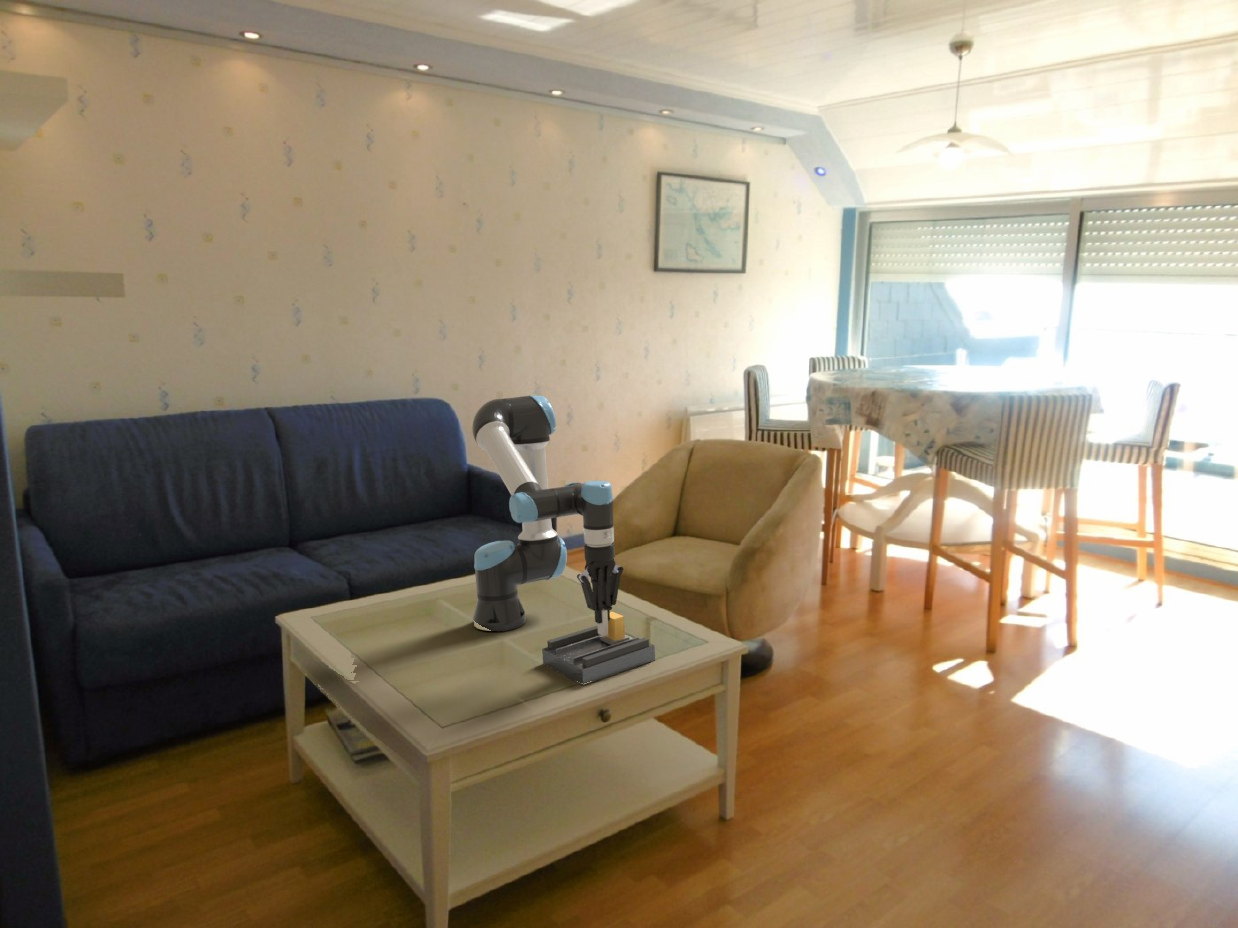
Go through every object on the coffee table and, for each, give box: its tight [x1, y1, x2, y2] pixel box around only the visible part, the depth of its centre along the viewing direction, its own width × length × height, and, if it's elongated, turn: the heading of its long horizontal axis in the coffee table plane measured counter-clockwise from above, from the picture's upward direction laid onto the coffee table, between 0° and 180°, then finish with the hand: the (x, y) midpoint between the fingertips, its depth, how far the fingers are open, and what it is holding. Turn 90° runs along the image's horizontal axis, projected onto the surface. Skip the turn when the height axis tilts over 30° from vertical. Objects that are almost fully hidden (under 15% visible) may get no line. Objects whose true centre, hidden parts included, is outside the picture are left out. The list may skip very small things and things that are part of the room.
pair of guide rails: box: [546, 624, 650, 667], centre depth 221 cm, size 17×19×2 cm
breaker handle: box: [600, 611, 629, 645], centre depth 224 cm, size 6×5×7 cm
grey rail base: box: [541, 632, 656, 684], centre depth 221 cm, size 18×22×5 cm
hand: (603, 634), depth 222 cm, fingers closed
